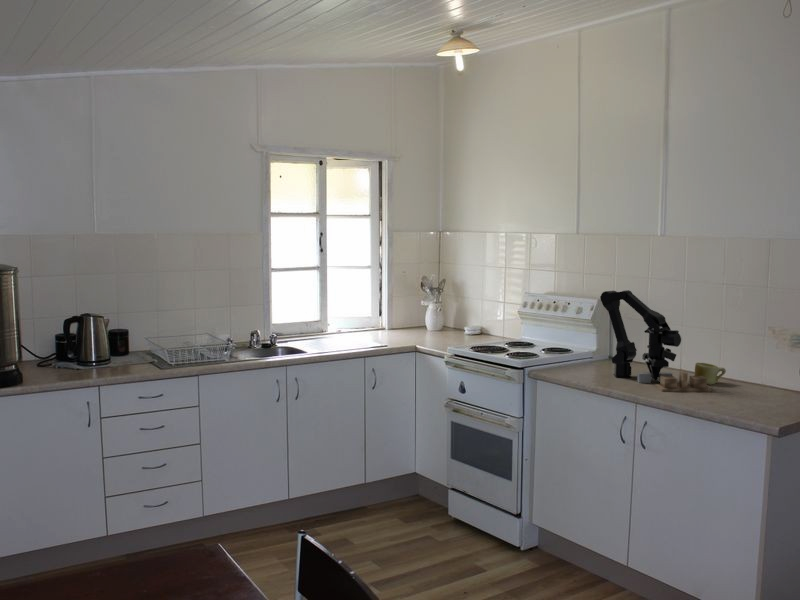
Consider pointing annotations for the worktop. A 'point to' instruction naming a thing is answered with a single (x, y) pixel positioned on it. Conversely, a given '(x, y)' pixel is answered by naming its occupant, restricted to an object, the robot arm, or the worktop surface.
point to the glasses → (649, 377)
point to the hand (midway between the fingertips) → (654, 379)
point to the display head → (683, 383)
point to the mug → (709, 372)
